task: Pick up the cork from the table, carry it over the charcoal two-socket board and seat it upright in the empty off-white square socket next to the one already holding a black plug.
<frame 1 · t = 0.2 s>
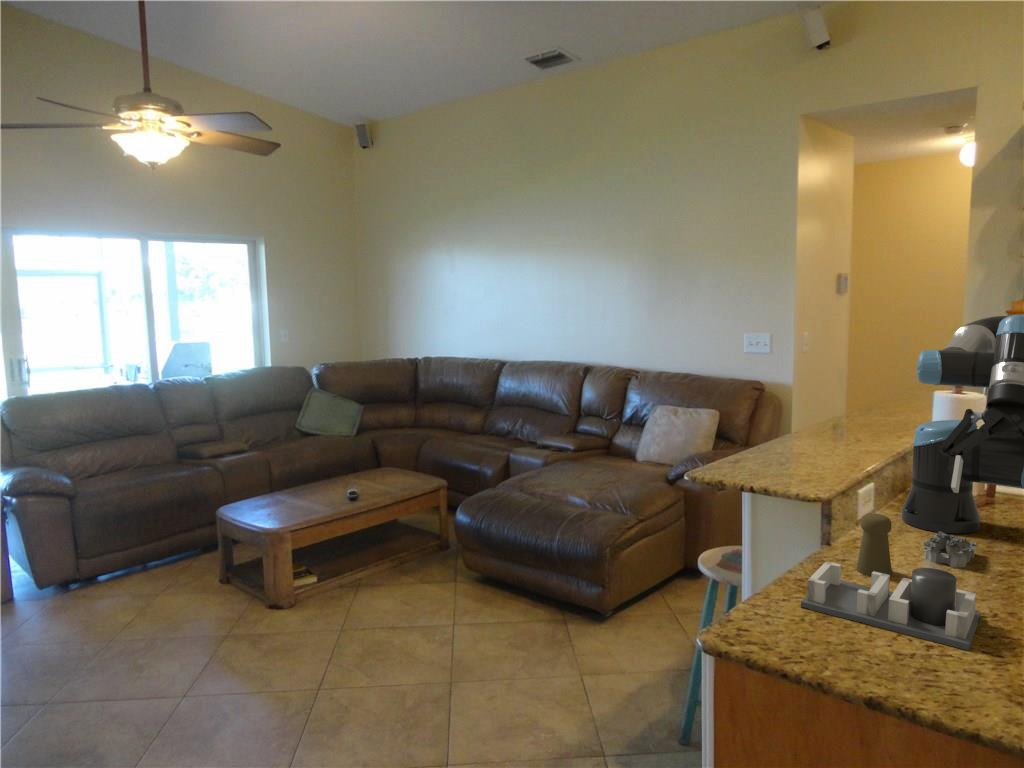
hand: (998, 495, 126), 16 cm above the worktop, tool tilted 35°, fingers open, 13 cm apart
cork: (873, 572, 132), on the worktop
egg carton: (949, 559, 138), on the worktop
socket board: (888, 612, 116), on the worktop
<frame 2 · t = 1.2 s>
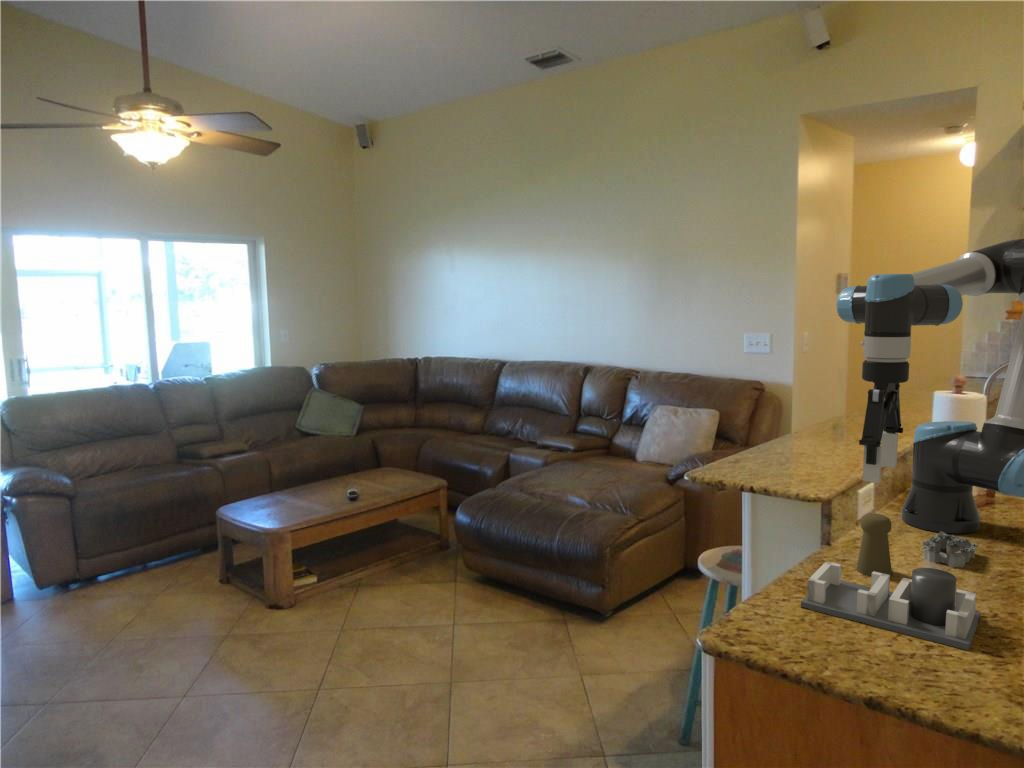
hand: (880, 473, 130), 19 cm above the worktop, tool pointing down, fingers open, 13 cm apart
nothing on the worktop moved.
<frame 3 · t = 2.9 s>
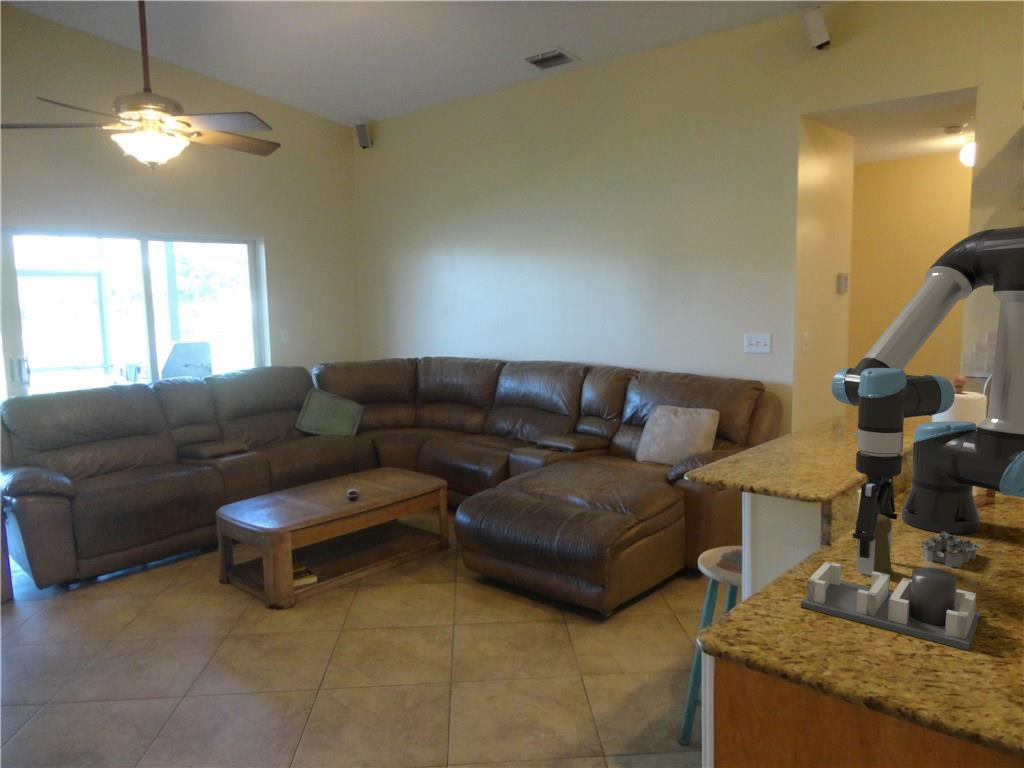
hand: (874, 562, 132), 2 cm above the worktop, tool pointing down, fingers open, 13 cm apart
nothing on the worktop moved.
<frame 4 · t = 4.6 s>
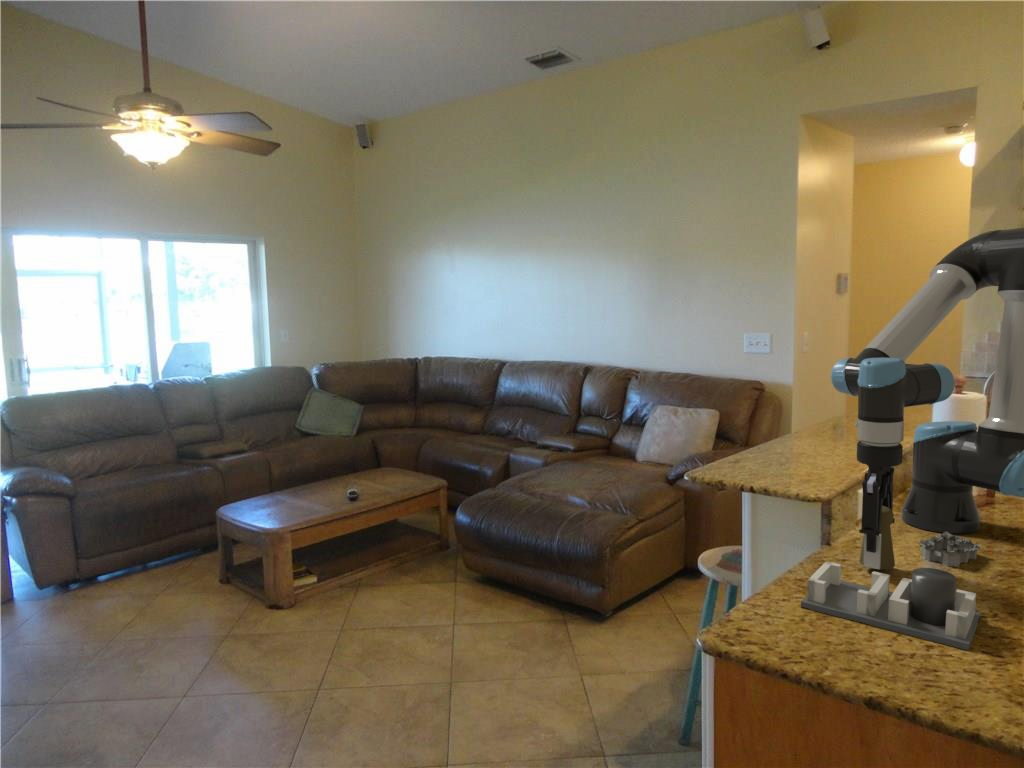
hand: (876, 561, 132), 2 cm above the worktop, tool pointing down, fingers closed on cork, 6 cm apart
cork: (876, 563, 132), point 1 cm above the worktop, touching gripper
everything else where it was.
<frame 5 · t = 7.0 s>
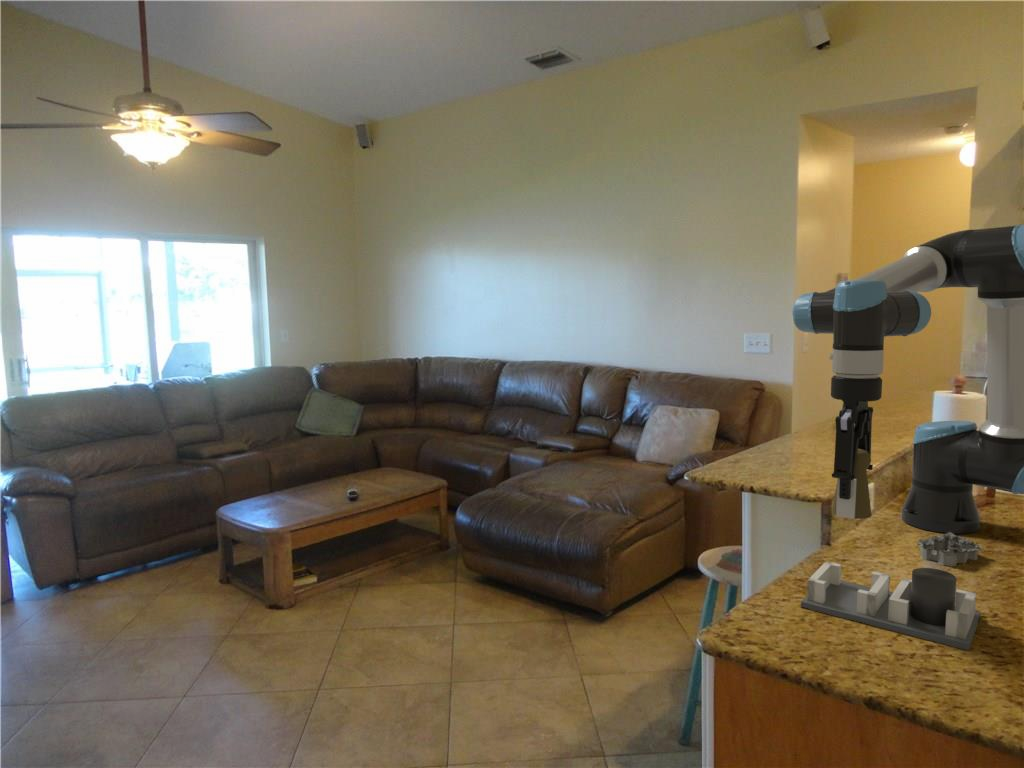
hand: (850, 511, 118), 16 cm above the worktop, tool pointing down, fingers closed on cork, 6 cm apart
cork: (851, 514, 118), point 16 cm above the worktop, touching gripper
when the fingers open (3 cm above the worktop, at t = 9.4 s): cork drops 2 cm, resting on socket board.
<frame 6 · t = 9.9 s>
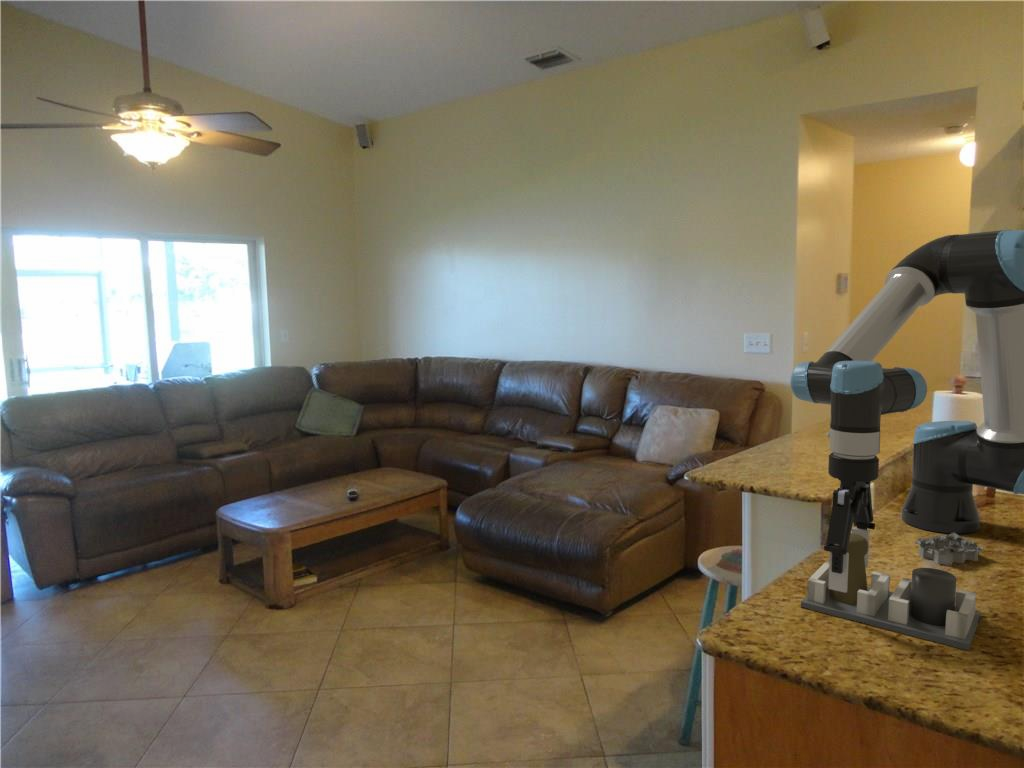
hand: (849, 577, 119), 5 cm above the worktop, tool pointing down, fingers open, 13 cm apart
cork: (848, 598, 119), point 1 cm above the worktop, touching socket board
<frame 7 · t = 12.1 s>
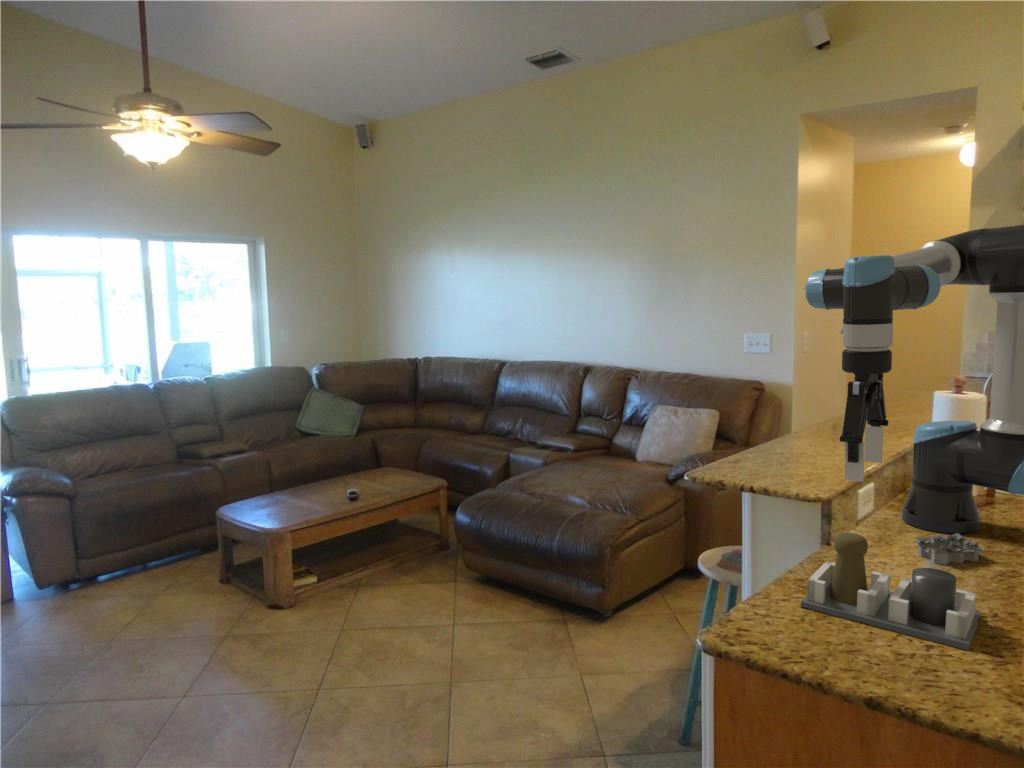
hand: (864, 470, 121), 22 cm above the worktop, tool pointing down, fingers open, 13 cm apart
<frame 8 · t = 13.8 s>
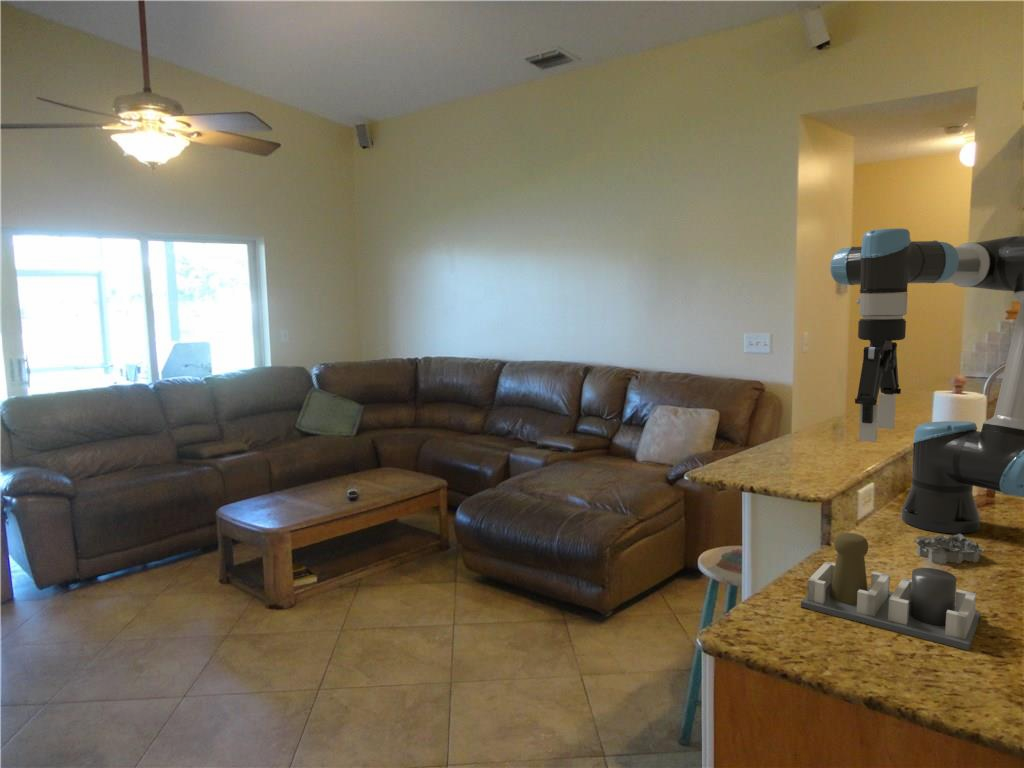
hand: (877, 434, 127), 27 cm above the worktop, tool pointing down, fingers open, 13 cm apart
at the end: cork 0.1 cm from the target spot on the socket board, point 0.8 cm above the socket board's base; cork tilted 0°; the gripper is holding nothing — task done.
